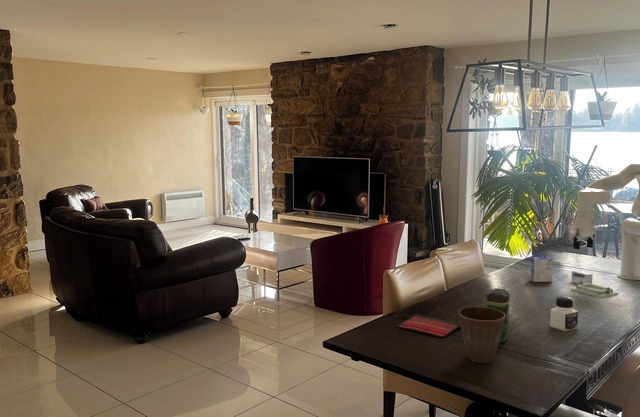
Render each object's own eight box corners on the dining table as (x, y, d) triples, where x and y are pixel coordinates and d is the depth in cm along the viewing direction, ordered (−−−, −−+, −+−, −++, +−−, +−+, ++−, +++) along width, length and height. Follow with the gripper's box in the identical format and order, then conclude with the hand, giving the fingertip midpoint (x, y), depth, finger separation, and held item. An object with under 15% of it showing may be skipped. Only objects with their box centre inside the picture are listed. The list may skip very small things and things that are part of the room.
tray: (587, 286, 278) (588, 279, 277) (617, 294, 263) (618, 286, 263) (571, 290, 272) (571, 282, 272) (600, 298, 258) (601, 289, 258)
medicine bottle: (565, 331, 214) (566, 301, 212) (549, 326, 220) (550, 296, 218) (577, 328, 217) (578, 298, 215) (562, 323, 223) (563, 294, 222)
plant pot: (511, 367, 181) (512, 319, 179) (466, 369, 180) (467, 321, 178) (493, 350, 195) (494, 306, 194) (451, 352, 194) (452, 307, 192)
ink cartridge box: (548, 279, 293) (549, 252, 292) (552, 282, 288) (554, 254, 286) (529, 279, 294) (530, 252, 292) (533, 282, 288) (534, 254, 286)
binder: (416, 313, 232) (463, 323, 219) (416, 318, 233) (463, 329, 219) (395, 324, 220) (443, 336, 207) (395, 330, 221) (443, 342, 207)
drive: (576, 281, 289) (577, 270, 288) (592, 285, 281) (592, 273, 281) (571, 282, 287) (571, 271, 287) (586, 286, 279) (587, 274, 279)
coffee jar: (505, 344, 201) (506, 294, 198) (482, 341, 204) (484, 291, 202) (510, 336, 209) (511, 288, 207) (488, 333, 213) (489, 285, 211)
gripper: (589, 212, 287) (588, 245, 289) (566, 214, 279) (564, 248, 281) (602, 214, 281) (601, 248, 283) (579, 216, 273) (577, 251, 275)
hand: (583, 248), depth 282 cm, fingers open, 9 cm apart
